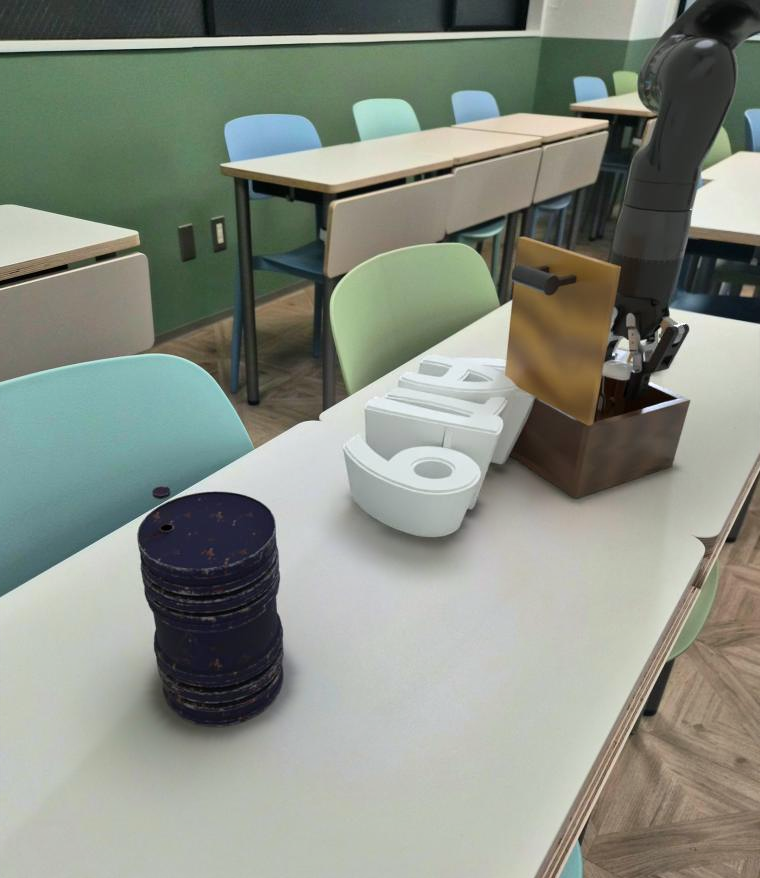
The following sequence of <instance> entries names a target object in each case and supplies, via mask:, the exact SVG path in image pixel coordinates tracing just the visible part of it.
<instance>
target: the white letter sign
mask: <svg viewBox="0 0 760 878" xmlns="http://www.w3.org/2000/svg"><path fill="white" fill-rule="evenodd" d="M505 368H506V359H505V358H493V357H452V356H446V355H439V354H433V353H432V354H427V355H426V356H424V357H423V358H422V359H420V362H419V369H418V373H417V372H412V371H406V372H405V373H403V374H402V375H400V376H399V378H398V382H397V386H396V387H394V388H393V389H391V390H389V391H388V392H387V393H386V394H385V395H384V397H383V396H379V395H376V396H374V397H372V398H370V399H369V400H368V402H366V403H365V405H364V432H365V435H364V436H365V440H364V438H363V437H362V435H361V433H360V432H357V433H356V434H355V435H354V436H353V437H351V438H350V439H349V440H348V441H346V442H345V443H344V445H343V446H342V452H343V457H344V463H345V468H346V472H347V478H348V483H349V489H350V495H351V498H352V499H353V501H354V502H355V504H357V506H358V507H360V509H362V511H364V512H365V513H367V514H368V515H369V516H370V517H372V518H373V519H375V520H377V521H379V522H381V523H382V524H384V525H386V526H388V527H390V528H393V529H395V530H397V531H399V532H400V531H401V532H403V533H406V534H409V535H411V536H412V535H413V536H417V537H423V538H439V537H445V536H448V535H451V534H453V533H455V532H456V531H458V530H459V528H460V527H461V525H462V523H463V520H464V518H465V515H466V513H467V511H468V510H473V509H474V508H475V505H476V503H477V500H478V497H479V495H480V492H481V489H482V486H483V484H484V481H485V478H486V476H487V473H488V470H489V466H490V464H491V463H493V464H498V465H503V464H505V463H506V462H507V461H508V458H509V457H510V453H511V451H512V449H513V447H514V445H515V443H516V441H517V439H518V437H519V435H520V433H521V431H522V429H523V427H524V425H525V423H526V421H527V419H528V417H529V414H530V412H531V409H532V406H533V403H534V400H535V398H537V397H535V396H533V395H531V394H529V393H528V392H526V391H524V390H522V389H520V388H518V387H517V385H516V384H515V383H514V382H513V381H512V380H511V379H510V378H508V377H507V376H505Z"/></svg>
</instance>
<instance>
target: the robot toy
mask: <svg viewBox="0 0 760 878" xmlns="http://www.w3.org/2000/svg"><path fill="white" fill-rule="evenodd" d="M612 354H613V355H616V356H615V360H620V361H625V362H627V359H628V356H629V354H630V351H629V350H628V351H626V350H622V349H619V348H618V347H617V348H616V350H615V352H613V353H612ZM644 361H645V356H644ZM630 363H632V364H633V357H632V359H631V362H630ZM651 375H653V373H651Z"/></svg>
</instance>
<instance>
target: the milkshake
mask: <svg viewBox="0 0 760 878" xmlns="http://www.w3.org/2000/svg"><path fill="white" fill-rule="evenodd" d="M631 359H632V353H631V352H630V354H629V356H628V359H627V362H625V361H620V360H609V361H607V362H605V363H604V366H603V372H602V377H601V383H600V389H599V394H598V400H597V406H596V412H595V417H594V422H597V421H601V420H604V419H608V418H611V417H615V416H618V415H622V414H626V413H627V409H628V406H629V403H630V401H629V400H627V399H626V398H625V397H626V392H627V388H628V383H629V379H630V374H631V371H634V370H633V364H632V363H630V362H631Z"/></svg>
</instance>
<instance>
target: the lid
mask: <svg viewBox="0 0 760 878" xmlns="http://www.w3.org/2000/svg"><path fill="white" fill-rule="evenodd" d="M620 269H621V267H620V266H617V265H614V264H611V263H609V262H607V261H604V260H601V259H598V258H595V257H591V256H588V255H585V254H582V253H578V252H575V251H572V250H569V249H566V248H562V247H560V246H556V245H554V244H553V245H552V244H549V243H546V242H543V241H540V240H537V239H533V238H530V237H527V236H518V239H517V249H516V258H515V266H514V268H513V269H512V271H511V277H510V278H511V280H512V282H513V288H512V299H511V310H510V319H509V327H508V328H509V329H508V337H507V350H506V368H505V376H507V377H508V378H510V379H511V380H512V381H513V382H514V383H515V384H516V385H517V387H518V388H520V389H522V390H524V391H526V392H528V393H529V394H531V395H533V396H535V397H537V398H539V399H540V400H542V401H544V402H546V403H548V404H549V405H551V406H553V407H555V408H557V409H559V410H560V411H562V412H564V413H566V414H568V415H569V416H571V417H573V418H575V419H577V420H579V421H580V422H582V423H584V424H586V425H588V426H589V425H592V424H593V423H594V417H595V412H596V406H597V400H598V394H599V389H600V383H601V377H602V372H603V366H604V360H605V355H606V349H607V343H608V338H609V332H610V326H611V321H612V315H613V309H614V304H615V298H616V292H617V287H618V281H619V275H620Z"/></svg>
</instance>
